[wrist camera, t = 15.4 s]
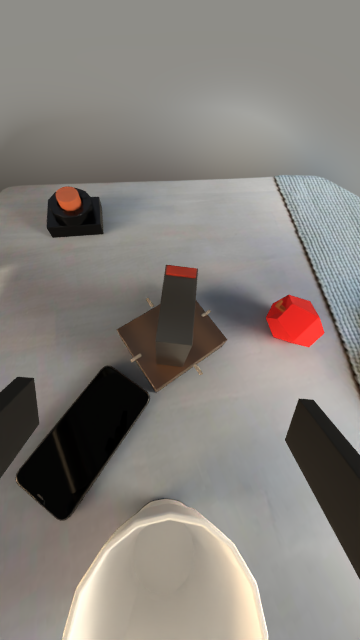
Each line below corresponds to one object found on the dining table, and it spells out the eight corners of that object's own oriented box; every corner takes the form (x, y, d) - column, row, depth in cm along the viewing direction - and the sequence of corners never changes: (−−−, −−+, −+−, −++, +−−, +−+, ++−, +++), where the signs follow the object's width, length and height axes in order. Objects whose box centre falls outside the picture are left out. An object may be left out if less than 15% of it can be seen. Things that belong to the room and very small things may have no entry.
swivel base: (158, 406, 29) (159, 405, 26) (110, 330, 33) (105, 321, 30) (232, 353, 33) (239, 346, 30) (181, 289, 36) (183, 277, 33)
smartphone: (107, 363, 31) (14, 477, 25) (106, 361, 30) (9, 479, 24) (153, 396, 30) (66, 523, 24) (153, 395, 29) (63, 527, 23)
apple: (348, 317, 30) (308, 277, 29) (323, 360, 29) (279, 320, 28) (306, 318, 37) (272, 286, 36) (284, 353, 36) (247, 321, 34)
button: (59, 212, 36) (55, 202, 34) (60, 197, 37) (55, 186, 35) (81, 211, 36) (78, 201, 34) (81, 196, 37) (78, 186, 36)
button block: (52, 238, 38) (41, 218, 34) (53, 209, 40) (43, 188, 37) (103, 234, 39) (97, 215, 35) (101, 207, 41) (96, 186, 38)
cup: (247, 546, 25) (309, 635, 15) (159, 678, 21) (160, 927, 11) (166, 450, 28) (171, 468, 17) (75, 550, 24) (12, 649, 13)
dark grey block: (182, 367, 29) (192, 344, 20) (156, 364, 28) (155, 340, 20) (187, 307, 32) (198, 267, 23) (163, 305, 32) (165, 262, 23)
